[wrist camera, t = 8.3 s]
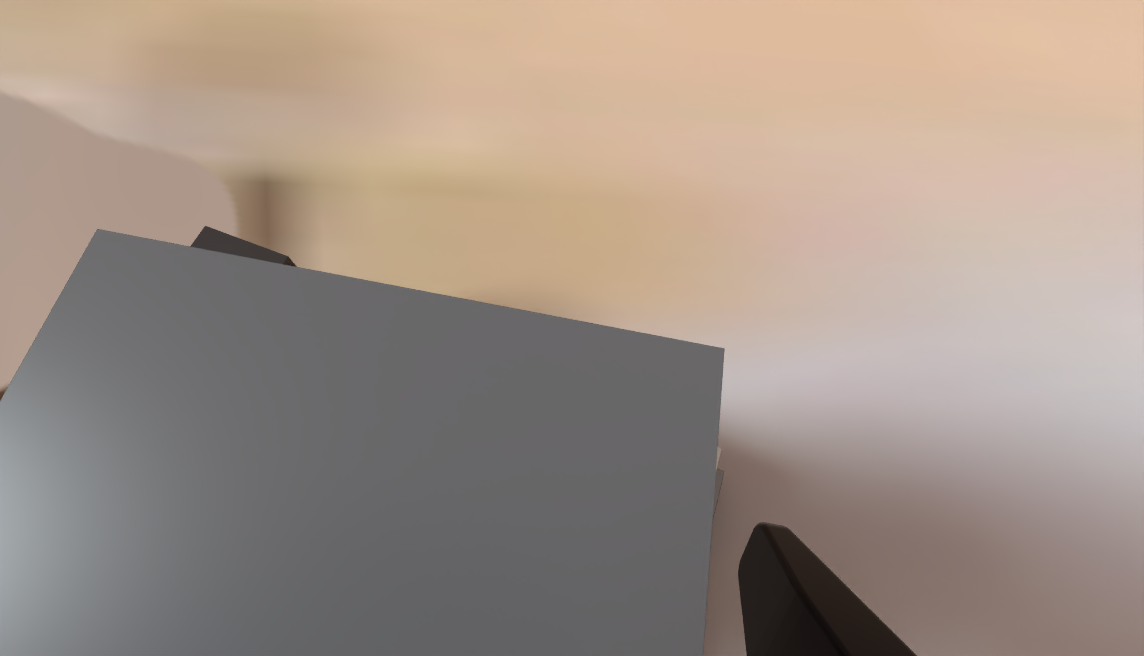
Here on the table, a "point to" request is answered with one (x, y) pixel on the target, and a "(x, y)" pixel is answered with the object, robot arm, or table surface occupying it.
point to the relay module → (346, 471)
